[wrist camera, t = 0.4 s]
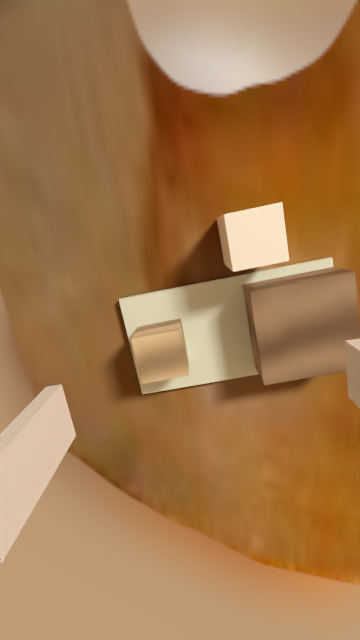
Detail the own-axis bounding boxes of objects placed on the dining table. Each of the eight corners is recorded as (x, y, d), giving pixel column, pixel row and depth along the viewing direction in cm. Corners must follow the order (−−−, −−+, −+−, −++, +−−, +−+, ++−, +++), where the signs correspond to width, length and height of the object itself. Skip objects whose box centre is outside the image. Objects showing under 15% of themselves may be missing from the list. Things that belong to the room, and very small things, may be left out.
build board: (120, 298, 39) (118, 299, 38) (329, 257, 37) (332, 257, 36) (143, 391, 42) (142, 394, 41) (338, 357, 40) (341, 360, 39)
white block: (216, 218, 37) (223, 214, 29) (262, 209, 36) (282, 202, 28) (224, 264, 38) (233, 271, 30) (268, 255, 37) (289, 260, 30)
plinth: (242, 284, 37) (249, 291, 33) (333, 266, 37) (355, 271, 32) (255, 367, 40) (264, 385, 35) (341, 352, 39) (362, 368, 34)
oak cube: (138, 326, 39) (130, 339, 34) (180, 318, 39) (179, 330, 34) (147, 365, 40) (141, 383, 35) (188, 358, 40) (188, 375, 35)
